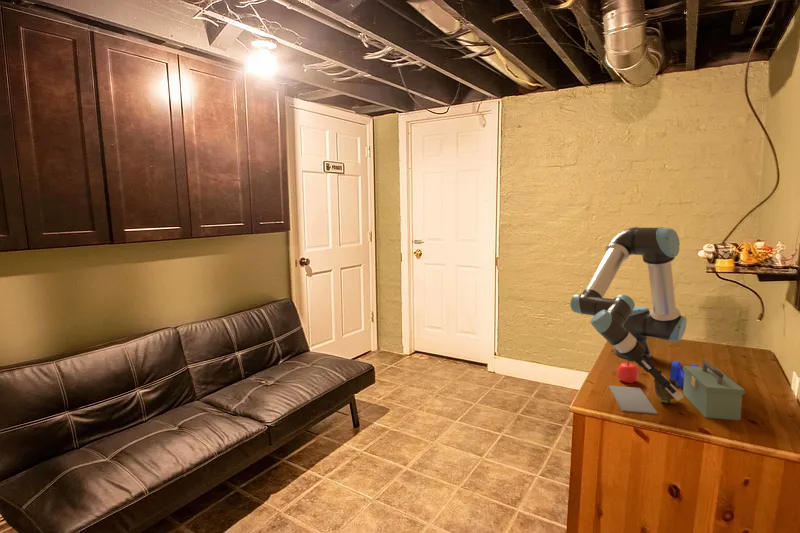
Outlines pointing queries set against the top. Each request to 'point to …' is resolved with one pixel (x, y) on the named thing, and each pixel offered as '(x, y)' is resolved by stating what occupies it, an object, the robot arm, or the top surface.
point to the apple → (627, 372)
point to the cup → (664, 391)
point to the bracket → (678, 373)
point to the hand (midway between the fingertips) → (676, 393)
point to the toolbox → (712, 392)
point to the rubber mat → (632, 400)
